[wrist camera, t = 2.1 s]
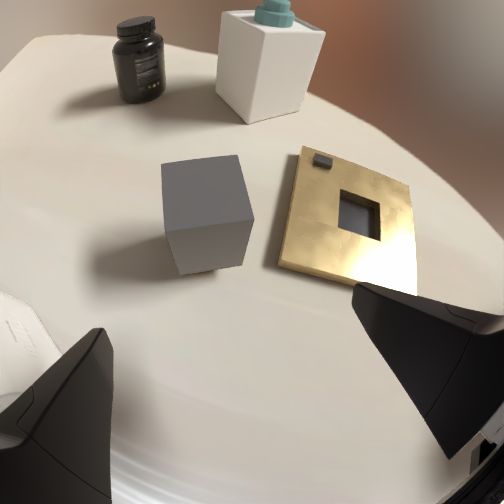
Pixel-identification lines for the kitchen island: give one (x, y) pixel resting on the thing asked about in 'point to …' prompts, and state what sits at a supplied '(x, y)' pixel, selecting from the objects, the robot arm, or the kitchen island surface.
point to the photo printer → (21, 349)
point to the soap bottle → (265, 60)
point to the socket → (349, 224)
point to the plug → (206, 213)
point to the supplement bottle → (139, 60)
